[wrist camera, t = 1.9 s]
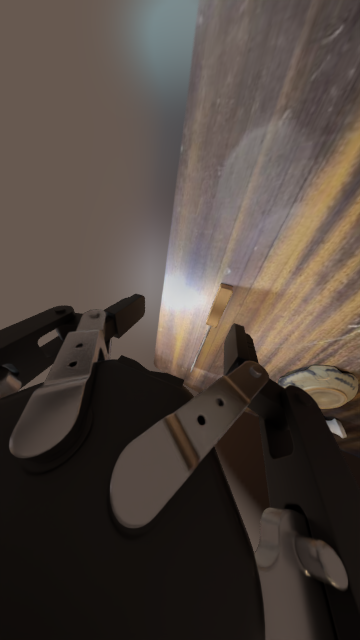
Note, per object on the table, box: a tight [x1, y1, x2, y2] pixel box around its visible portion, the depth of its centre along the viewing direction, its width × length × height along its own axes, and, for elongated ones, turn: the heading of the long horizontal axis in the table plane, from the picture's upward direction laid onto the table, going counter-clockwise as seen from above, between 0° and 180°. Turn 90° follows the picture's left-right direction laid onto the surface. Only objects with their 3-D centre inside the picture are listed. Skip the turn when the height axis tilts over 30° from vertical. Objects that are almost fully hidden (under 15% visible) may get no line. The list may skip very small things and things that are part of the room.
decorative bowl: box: [278, 365, 358, 409], centre depth 31 cm, size 15×4×15 cm
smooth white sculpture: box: [326, 418, 347, 438], centre depth 37 cm, size 4×8×5 cm
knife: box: [191, 283, 233, 372], centre depth 33 cm, size 29×2×3 cm, turn 169°
